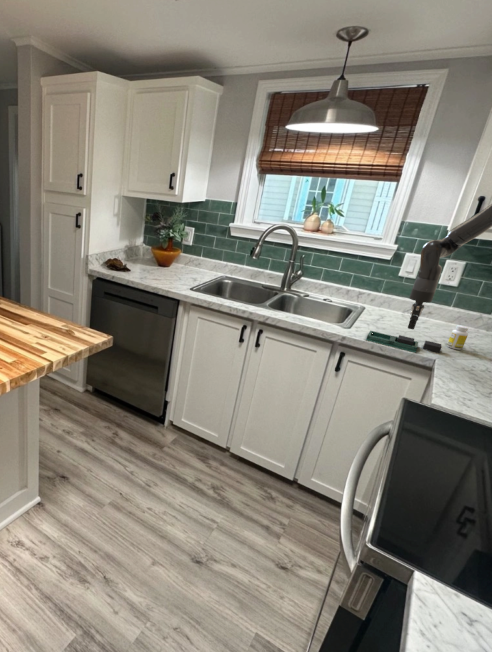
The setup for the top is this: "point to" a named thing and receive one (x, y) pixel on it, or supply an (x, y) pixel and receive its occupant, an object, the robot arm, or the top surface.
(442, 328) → the top surface
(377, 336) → the base board
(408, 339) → the near pad
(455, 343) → the supplement bottle
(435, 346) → the far pad
